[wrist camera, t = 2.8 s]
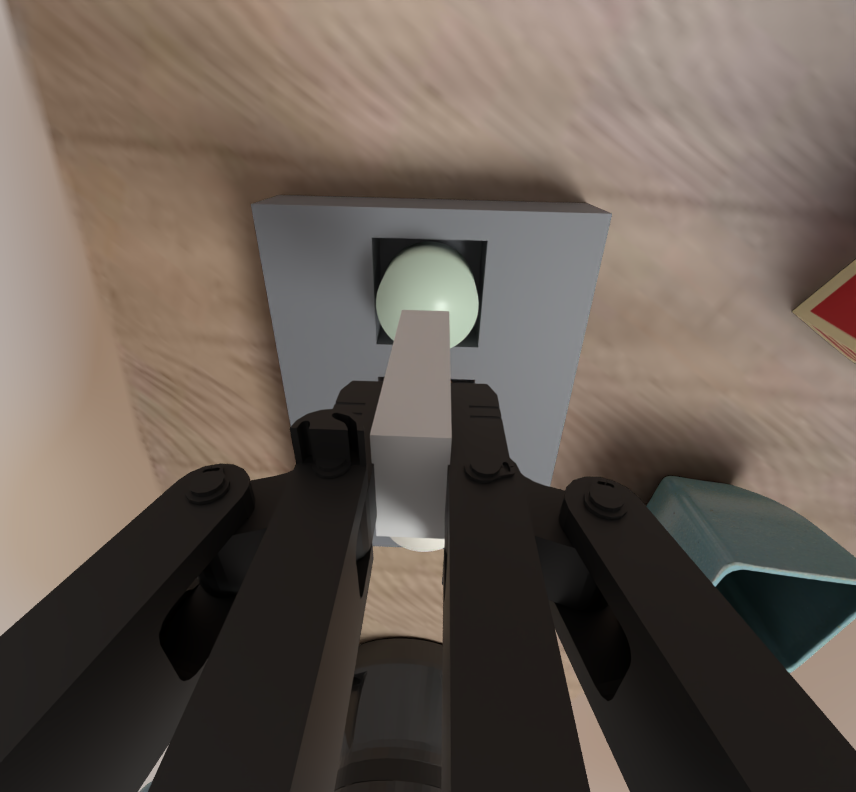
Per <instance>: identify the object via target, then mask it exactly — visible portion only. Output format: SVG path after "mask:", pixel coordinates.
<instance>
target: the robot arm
mask: <svg viewBox="0 0 856 792" xmlns="http://www.w3.org/2000/svg"><path fill="white" fill-rule="evenodd" d="M501 418H502V416H501V411H500V406H499V401H498V396H497V394H496V393H495V392H494V391H493V390H492V389H491V387H490V386H489V385H488V384H476V383H451V376H450V323H449V311H426V310H402V311H401V315H400V319H399V323H398V327H397V330H396V334H395V338H394V342H393V346H392V350H391V354H390V358H389V362H388V366H387V370H386V374H385V378H384V381H383V382H381V381H354V380H352V381H351V382H350V383H349V384H348V385H346V386H345V387H344V388H343V389H341V390H340V392H339V395H338V397H337V400H336V404H334V407H333V409H324V410H318V411H315V412H311V413H308V414H306V415H304V416H303V417H301V418H299V419H297V420H296V421H295V422H294V424H293V425H292V426H291V427H290V432H291V438H292V443H293V449H294V454H295V459H296V466H295V468H294V470H292V471H290V472H288V473H285V474H281V475H277V476H273V477H267V478H262V479H257V480H251V481H250V478H249V476H248V474H247V473H246V471H245V470H244V469H243V468H240V467H238V466H236V465H233V464H215V465H210V466H205V467H202V468H200V469H197V470H195V471H192V472H190V473H188V474H187V475H185V476H184V477H182V478H181V479H180V480H178V481H177V482H176V483H174V484H173V485H172V486H171V487H170V488H169V489H168V490H166V491H165V492H164V493H163V494H162V495H161V496H160V497H159V498H157V499H156V500H155V501H154V502H153V503H152V504H151V505H149V506H148V507H147V508H146V509H145V510H144V511H143V512H142V513H140V514H139V515H138V516H137V517H136V518H135V519H133V520H132V521H131V522H130V523H129V524H128V525H127V526H125V528H123V529H122V530H121V531H120V532H119V533H117V534H116V535H115V536H114V537H113V538H112V539H111V540H110V541H108V542H107V543H106V544H105V545H104V546H103V547H102V548H100V549H99V550H98V551H97V552H96V553H95V554H94V555H92V556H91V557H90V558H89V559H88V560H87V561H86V562H84V563H83V564H82V565H81V566H80V567H79V568H78V569H76V570H75V571H74V572H73V573H72V574H71V575H70V576H69V577H67V578H66V579H65V580H64V581H63V582H62V583H61V584H59V586H57V587H56V588H55V589H54V590H53V591H51V592H50V593H49V594H48V595H47V596H46V597H45V598H43V599H42V600H41V601H40V602H39V603H38V604H37V605H35V606H34V607H33V608H32V609H31V610H30V611H29V612H28V613H26V614H25V615H24V616H23V617H22V618H21V619H20V620H19V621H17V622H16V623H15V624H14V625H13V626H12V627H11V628H9V629H8V630H7V631H6V632H5V633H4V634H2V635H1V636H0V792H138V790H139V789H140V787H141V786H142V784H143V782H144V781H145V780H146V778H147V777H148V775H149V774H150V772H151V771H152V769H153V768H154V766H155V765H156V763H157V761H158V760H159V758H160V757H161V755H162V754H163V752H164V751H165V749H166V748H167V746H168V745H169V746H168V748H167V750H166V752H165V755H164V757H163V759H162V761H161V764H160V766H159V768H158V770H157V773H156V775H155V777H154V779H153V781H152V782H150V783H149V784H147V785H146V786H145V787H144V788H143V789H142V790H141V791H140V792H590V788H589V784H588V779H587V774H586V770H585V765H584V761H583V756H582V752H581V747H580V743H579V738H578V733H577V729H576V724H575V720H574V715H573V710H572V706H571V701H570V696H569V692H568V687H567V683H566V678H565V674H564V669H563V664H562V660H561V655H560V651H559V646H558V641H557V637H556V632H557V634H558V636H559V639H560V641H561V643H562V645H563V647H564V649H565V652H566V654H567V656H568V658H569V660H570V662H571V665H572V667H573V669H574V671H575V673H576V675H577V678H578V680H579V682H580V684H581V686H582V689H583V691H584V693H585V695H586V697H587V699H588V701H589V704H590V706H591V708H592V710H593V712H594V714H595V716H596V719H597V721H598V723H599V725H600V727H601V729H602V732H603V734H604V736H605V738H606V741H607V743H608V745H609V747H610V749H611V751H612V754H613V756H614V758H615V760H616V762H617V764H618V766H619V769H620V771H621V773H622V775H623V777H624V780H625V782H626V784H627V786H628V788H629V790H630V792H856V750H855V749H854V748H853V747H852V746H851V745H850V744H849V742H848V741H847V740H846V739H845V738H844V736H843V735H842V734H841V733H840V732H839V731H838V729H837V728H836V727H835V726H834V725H833V724H832V723H831V721H830V720H829V719H828V718H827V717H826V715H825V714H824V713H823V712H822V711H821V710H820V708H819V707H818V706H817V705H816V704H815V703H814V701H813V700H812V699H811V698H810V697H809V696H808V694H807V693H806V692H805V691H804V690H803V689H802V687H801V686H800V685H799V684H798V683H797V682H796V681H795V679H794V678H793V677H792V676H791V675H790V673H789V672H788V671H787V670H786V669H785V668H784V666H783V665H782V664H781V663H780V662H779V661H778V659H777V658H776V657H775V656H774V655H773V654H772V652H771V651H770V650H769V649H768V648H767V647H766V645H765V644H764V643H763V642H762V641H761V640H760V638H759V637H758V636H757V635H756V634H755V633H754V631H753V630H752V629H751V628H750V627H749V626H748V624H747V623H746V622H745V621H744V620H743V619H742V617H741V616H740V615H739V614H738V613H737V612H736V610H735V609H734V608H733V607H732V606H731V605H730V603H729V602H728V601H727V600H726V599H725V598H724V596H723V595H722V594H721V593H720V592H719V591H718V589H717V588H716V587H715V586H714V585H713V584H712V582H711V581H710V580H709V579H708V578H707V577H706V575H705V574H704V573H703V572H702V571H701V570H700V568H699V567H698V566H697V565H696V564H695V563H694V561H693V560H692V559H691V558H690V557H689V556H688V554H687V553H686V552H685V551H684V550H683V549H682V547H681V546H680V545H679V544H678V543H677V542H676V540H675V539H674V538H673V537H672V536H671V535H670V533H669V532H668V531H667V530H666V529H665V528H664V526H663V525H662V524H661V523H660V522H659V521H658V519H657V518H656V517H655V516H654V515H653V514H652V512H651V511H650V510H649V509H648V508H647V507H646V505H645V504H644V503H643V502H642V501H641V500H640V498H639V497H637V496H636V495H635V494H634V493H633V492H632V491H631V490H629V489H628V488H627V487H625V486H623V485H621V484H619V483H617V482H615V481H612V480H608V479H605V478H601V477H583V478H579V479H576V480H573V481H572V482H571V483H570V484H569V485H568V486H567V487H566V490H565V491H564V490H560V489H556V488H553V487H549V486H545V485H542V484H540V483H537V482H534V481H532V480H530V479H529V478H527V477H525V476H524V475H523V474H521V472H520V470H519V468H518V466H517V464H516V463H515V462H514V461H513V460H512V459H511V458H510V456H509V451H508V446H507V441H506V436H505V431H504V426H503V421H502V419H501ZM375 524H376V536H387V537H410V538H433V539H445V545H444V561H443V577H442V585H443V645H440V644H437V643H433V642H429V641H423V640H416V639H401V638H398V639H383V640H377V641H372V642H368V643H364V644H361V645H359V641H360V635H361V629H362V623H363V617H364V611H365V605H366V599H367V593H368V588H369V582H370V576H371V570H372V564H373V545H372V541H373V535H374V530H375ZM555 630H556V632H555ZM169 743H170V744H169Z"/></svg>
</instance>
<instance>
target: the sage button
mask: <svg viewBox="0 0 856 792" xmlns="http://www.w3.org/2000/svg"><path fill="white" fill-rule="evenodd" d="M478 304H479V302H478V294H477V290H476V285H475V281H474V277H473V273H472V270H471V268H470V266H469V264H468V262H467V261H466V260H465V258H464V257H463V256H462V255H461V254H460V253H459V252H458V251H456V250H455V249H454V248H452V247H450V246H448V245H445V244H443V243H439V242H432V241H425V242H418V243H415V244H412V245H410V246H408V247H406V248H404V249H403V250H401V251H400V252H399V253H398V254H397V255H396V256H395V257H394V258H393V259H392V261H391V262H390V264H389V266H388V268H387V270H386V272H385V274H384V277H383V279H382V281H381V283H380V286H379V289H378V292H377V297H376V309H377V315H378V318H379V321H380V324H381V325H382V327H383V329H384V331H385V332H386V333H387V335H388V336H389V337H390V338H391V339H392V340H393V341H394V338H395V334H396V330H397V327H398V323H399V319H400V315H401V311H402V310H426V311H449V323H450V348H452V347H454V346H456V345H457V344H459V343H460V342H461V341H462V340H463V339H464V338H465V337H466V336H467V335H468V334H469V333H470V331H471V329H472V328H473V326H474V324H475V321H476V318H477V315H478Z"/></svg>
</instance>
